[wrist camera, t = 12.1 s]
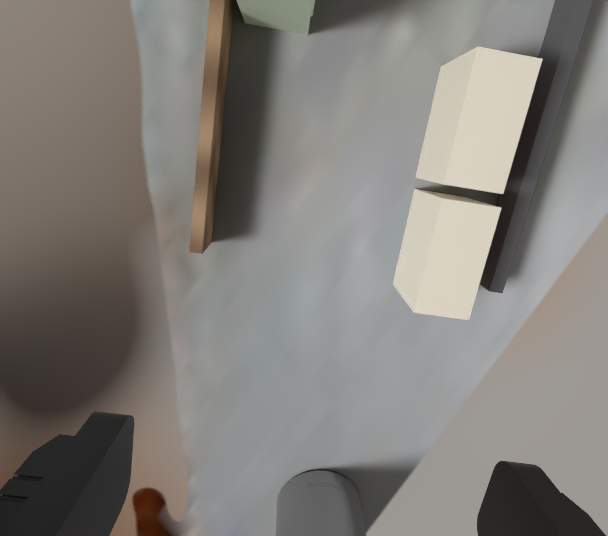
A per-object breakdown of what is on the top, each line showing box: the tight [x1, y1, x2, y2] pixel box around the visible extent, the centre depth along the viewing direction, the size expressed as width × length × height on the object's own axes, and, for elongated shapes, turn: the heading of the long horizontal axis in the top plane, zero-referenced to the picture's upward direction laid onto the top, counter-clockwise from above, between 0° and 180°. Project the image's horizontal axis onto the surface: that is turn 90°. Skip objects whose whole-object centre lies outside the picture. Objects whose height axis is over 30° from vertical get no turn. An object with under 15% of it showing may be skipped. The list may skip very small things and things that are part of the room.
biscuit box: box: [416, 47, 543, 194], centre depth 32 cm, size 5×9×7 cm, turn 171°
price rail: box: [480, 0, 593, 293], centre depth 34 cm, size 26×2×3 cm, turn 171°
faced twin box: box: [393, 189, 501, 320], centre depth 34 cm, size 5×9×7 cm, turn 171°
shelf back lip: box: [190, 0, 234, 254], centre depth 31 cm, size 26×1×4 cm, turn 171°
